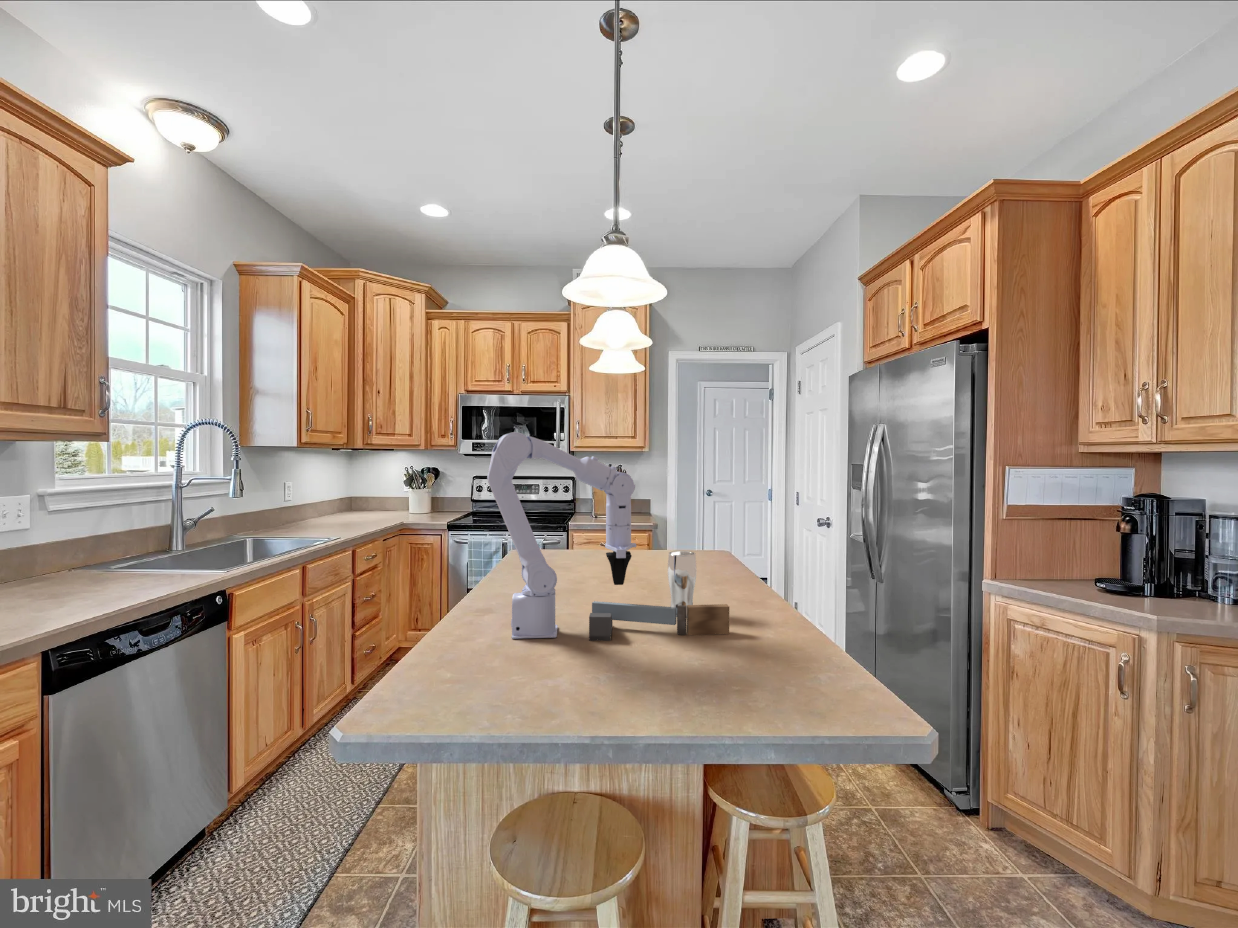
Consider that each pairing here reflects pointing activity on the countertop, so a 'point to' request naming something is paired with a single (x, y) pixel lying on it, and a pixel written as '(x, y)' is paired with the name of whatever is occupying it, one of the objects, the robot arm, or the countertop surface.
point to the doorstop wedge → (600, 626)
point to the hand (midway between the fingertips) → (618, 584)
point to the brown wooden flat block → (703, 619)
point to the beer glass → (681, 577)
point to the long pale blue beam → (637, 612)
